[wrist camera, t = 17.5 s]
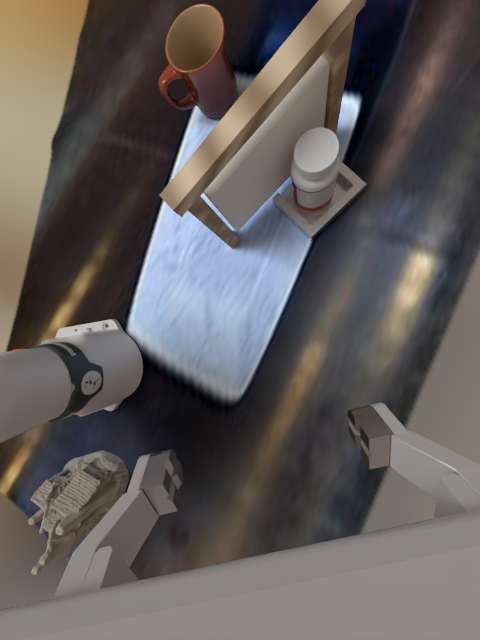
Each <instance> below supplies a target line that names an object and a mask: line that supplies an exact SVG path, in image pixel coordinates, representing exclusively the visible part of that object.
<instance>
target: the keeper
mask: <svg viewBox="0 0 480 640" xmlns="http://www.w3.org/2000/svg"><path fill="white" fill-rule="evenodd" d="M365 186H366V183H365V182H364V181H363V180H362V179H360V178H359V177H358V176H357V175H356V174H355V173H354V172H353V171H351V170H350V169H349V168H348V167H347V166H346V165H345V164H344V163H342V162H341V161H340V168H339V172H338V176H337V181H336V185H335V189H334V194H333V197H332V199H331V201H330V203H329V204H328V205H327V206H326V207H325V208H324V209H322V210H320V211H318V212H313V213H309V212H305V211H303V210H301V209H300V208H299V207H298V206H297V205H296V203H295V201H294V196H293V186H292V185H291V186H290V187H289V188H288V189H287V190H286V191H285V192H284V193H283V194H282V195H280V194H279V193H277V195H276V196H275V197H274V198H273V202H274V204H275V205H276V206H277V207H278V208H279V209H280V210H281V211H282V212H283V213H284V214H285V215H286V216H287V217H288V218H289V219H290V220H291V221H292V222H293V223H294V224H295V225H296V226H297V227H298V228H299V229H300V230H301V231H302V232H303V233H304V234H305V235H306V236H307V237H308V238H309V239H310V240H311V241H312V240H313V239H314V238H315V237H316V236H317V235H318V234H319V233H320V232H321V231H322V230H323V229H324V228H325V227H326V226H327V225H328V224H329V223H330V222H331V221H332V220H333V219H334V218H335V217H336V216H337V215H339V214H340V213H341V212H342V211H343V210H344V209H345V208H346V207H347V206H348V205H349V204H350V203H351V202H352V201H353V200H354V199H355V198H356V197H357V196H358V195H359V194H360V193H361V192H362V191H363V190H364V188H365Z"/></svg>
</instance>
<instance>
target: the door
mask: <svg viewBox="0 0 480 640" xmlns="http://www.w3.org/2000/svg"><path fill="white" fill-rule="evenodd" d="M329 69H330V62H329V61H327V60H326V59H325V58H324V57H322V56H320V58H319V59H318V60H317V61H316V62H315V63H314V64H313V66H312V67H311V68H310V69H309V70H308V71H307V73H306V74H305V75H304V76H303V77H302V78H301V80H300V81H299V82H298V83H297V84H296V85H295V86H294V88H293V89H292V90H291V91H290V92H289V93H288V95H287V96H286V97H285V98H284V99H283V100H282V102H281V103H280V104H279V105H278V106H277V107H276V108H275V110H274V111H273V112H272V113H271V114H270V115H269V117H268V118H267V119H266V120H265V121H264V122H263V123H262V125H261V126H260V127H259V128H258V129H257V130H256V132H255V133H254V134H253V135H252V136H251V137H250V139H249V140H248V141H247V142H246V143H245V144H244V145H243V147H242V148H241V149H240V150H239V151H238V152H237V154H236V155H235V156H234V157H233V158H232V159H231V161H230V162H229V163H228V164H227V165H226V166H225V167H224V169H223V170H222V171H221V172H220V173H219V174H218V176H217V177H216V178H215V179H214V180H213V181H212V183H211V184H210V185H209V186H208V187H207V188H206V189H205V191H204V192H203V193H204V194H205V195H206V196H207V197H208V199H209V200H210V201H211V202H212V203H213V204H214V206H215V207H216V208H217V209H218V210H219V211H220V213H221V214H222V215H223V216H224V217H225V218H226V220H227V221H228V222H229V223H230V224H231V225H232V226H233V227H234V228H235V230H236V231H237V232H238V231H239V230H240V229H241V228H242V226H243V225H244V224H245V223H246V222H247V221H248V220H249V219H250V218H251V217H252V216H253V215H254V214H255V213H256V212H257V211H258V209H259V208H260V207H261V206H262V205H263V204H264V203H265V202H266V201H267V200H268V199H269V198H270V197H271V196H272V195H273V194H274V193H275V191H276V190H277V189H278V188H279V187H280V186H281V185H282V184H283V183H284V182H285V181H286V180H287V179H288V178H289V177H290V176H291V164H292V161H293V158H294V148H295V145H296V143H297V141H298V140H299V138H300V137H301V136H302V135H303V134H304V133H306V132H307V131H309V130H311V129H314V128H319V127H320V128H324V121H325V111H326V101H327V90H328V80H329Z"/></svg>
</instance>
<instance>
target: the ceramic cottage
mask: <svg viewBox="0 0 480 640" xmlns="http://www.w3.org/2000/svg"><path fill="white" fill-rule="evenodd" d="M128 482H129V472H128V469H127V467H126V465H125V463H124V462H123V460H121V459H120V458H119V457H118V456H116V455H114V454H112V453H110V452H106V451H98V452H95V453H91V454H88V455H85V456H82V457H78V458H74V459H72V460H70V461H69V462H68V463H67V464H66V465H65V467H64V469H63V471H62V472H61V473H58V474H56V475H54V476H53V477H51V479H49V480H46V481H45V482H44V483H43V484H42V486H41V487H40V488H39V489H38V490H37V491H36V492H35V493H34V495H33V496H32V498H31V501H33V502H34V503H35V504H37V505H38V506H39V507H40V508H41V510H40V511H38V512H37V513H36V514H35V515H34V516H32V517H31V518H30V519H29V520H28V521H29V524H30V525H33V524H35V523H36V522H37V521H40V520H41V519H43V520H42V524H41V528H40V532H39V533H44V532H47V531H48V532H49V539H48V542H47V545H48V546H47V550H46V552H45V554H44V555H43V556H42V557H41V558H40V560H39V562H38V564H36V565H35V566H34V568H33V569H32V572H31V573H32V574H34V575H37V574H38V573H39V572H40V571H41V569H42V568H43V567H45V566H46V565H48V564H49V563H50V562H51V561H52V560H53V559H56V558H58V557H62V556H65V555H68V554H69V553H70V552H71V551H72V549H73V547H74V545H75V544H76V543H77V542H78V541H79V540H80V539H81V538H82V536H84V535H87V534H88V533H89V532H90V531H92V530H93V528H94V527H95V526H96V525H97V524H98V523H99V522H100V521H101V519H102V518H103V517H104V516H105V515H106V514H107V512H108V511H109V510H110V509H111V508H112V507H113V505H114V504H115V503H116V502H117V501H118V500H119V498H120V497H121V496H122V495H123V494H125V490H126V488H127V485H128Z"/></svg>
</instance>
